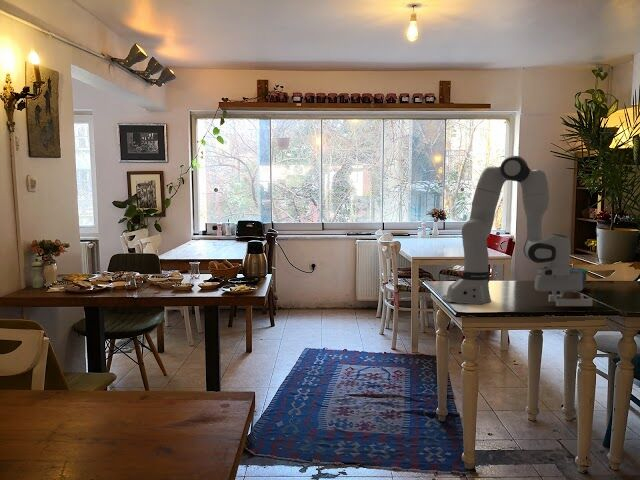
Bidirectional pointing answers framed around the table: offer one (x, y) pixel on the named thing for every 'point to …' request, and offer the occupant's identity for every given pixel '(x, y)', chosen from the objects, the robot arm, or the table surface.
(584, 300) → the chute
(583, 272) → the snack cup
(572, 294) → the walnut block
